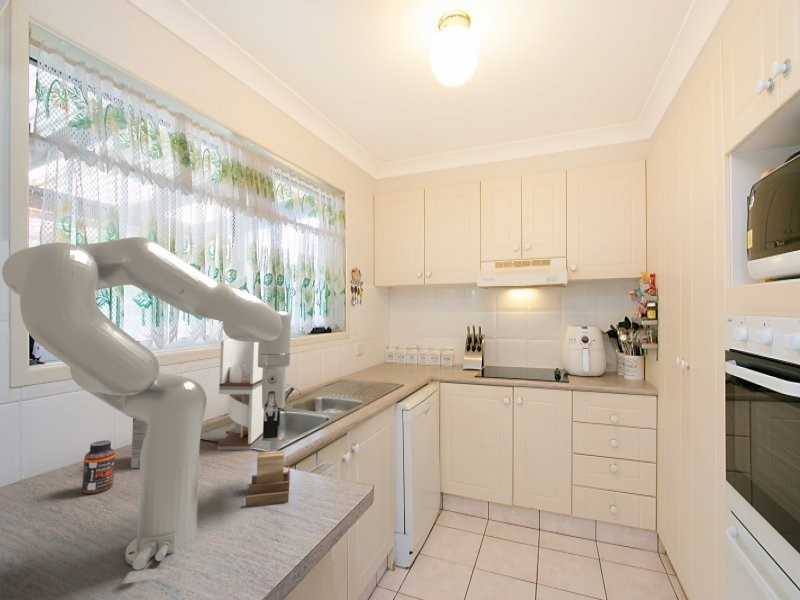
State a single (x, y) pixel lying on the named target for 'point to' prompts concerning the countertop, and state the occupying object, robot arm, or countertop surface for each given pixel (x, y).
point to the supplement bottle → (98, 467)
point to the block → (270, 467)
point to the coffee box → (137, 441)
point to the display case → (241, 393)
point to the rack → (268, 491)
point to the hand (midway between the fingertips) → (271, 431)
